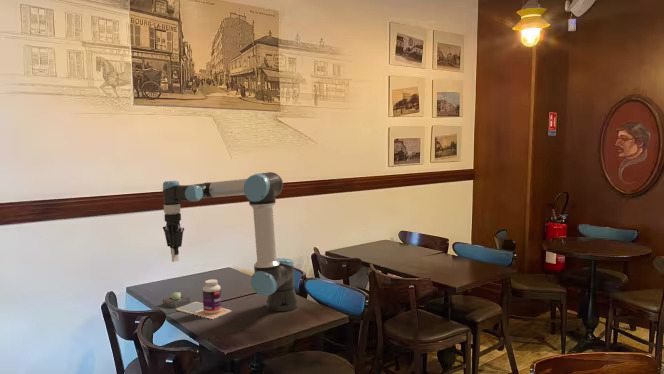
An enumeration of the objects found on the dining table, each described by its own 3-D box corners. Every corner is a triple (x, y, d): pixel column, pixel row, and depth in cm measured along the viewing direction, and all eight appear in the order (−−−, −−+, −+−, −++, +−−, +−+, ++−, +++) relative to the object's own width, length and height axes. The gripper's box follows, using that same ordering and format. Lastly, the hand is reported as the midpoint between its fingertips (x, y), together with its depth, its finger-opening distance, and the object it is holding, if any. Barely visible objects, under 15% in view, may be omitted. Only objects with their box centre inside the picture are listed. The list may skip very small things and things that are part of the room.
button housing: (190, 302, 235) (189, 296, 234) (175, 308, 227) (174, 302, 227) (177, 299, 240) (177, 293, 239) (162, 305, 232) (162, 299, 232)
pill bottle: (216, 315, 215) (215, 284, 214) (200, 313, 217) (199, 283, 215) (224, 308, 223) (223, 278, 222) (208, 307, 225) (207, 278, 223)
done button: (183, 300, 234) (182, 293, 233) (175, 303, 230) (175, 295, 230) (177, 299, 236) (176, 291, 236) (169, 302, 233) (169, 294, 232)
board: (231, 311, 222) (231, 309, 222) (212, 319, 212) (212, 318, 212) (195, 302, 235) (195, 301, 235) (176, 310, 225) (176, 308, 224)
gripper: (187, 212, 229) (190, 260, 231) (170, 211, 236) (172, 258, 238) (175, 214, 222) (177, 264, 225) (157, 213, 229) (160, 261, 232)
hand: (175, 261), depth 231 cm, fingers closed
